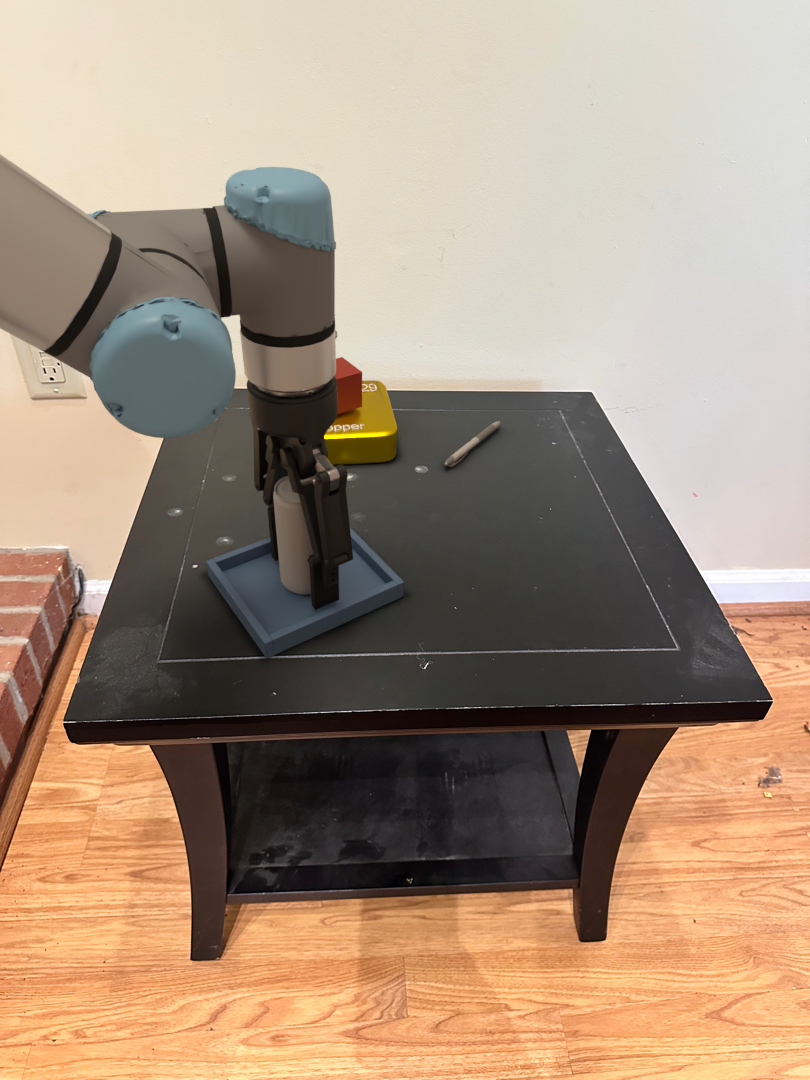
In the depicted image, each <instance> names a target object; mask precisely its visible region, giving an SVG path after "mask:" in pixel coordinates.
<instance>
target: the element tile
mask: <svg viewBox="0 0 810 1080" xmlns="http://www.w3.org/2000/svg"><path fill="white" fill-rule="evenodd" d="M388 392H389V391H388V389H387V386H386V384H384V383H383V382H382V381H380V380H362V407H360V408H356V409H353V410H350V411H346V412H343V413H340V414H337V418H336V420H335V421H334V423H333V424H332V425H331V426H330V427H329V429H328V430H327V432H326V433H325V435H324V438H325V443H326V447H327V450H328V458H327V459H328V460H329V461H330V463H331V464H332V465H333V466H339V465H358V464H360V465H361V464H377V463H386V462H390V461H392V460H393V459H394V458H395V457H396V455H397V451H398V449H397V446H398V425H397V421H396V418H395V413H394V410H393V407H392V404H391V400H390V396H389V393H388Z"/></svg>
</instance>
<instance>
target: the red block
mask: <svg viewBox="0 0 810 1080" xmlns="http://www.w3.org/2000/svg"><path fill="white" fill-rule="evenodd" d="M335 378H336V380H337V404H338V413H337V414H340V413H343V412H346V411H350V410H353V409H356V408H360V407H362V381H363V371H362V370H360V369H359V368H357V366H355V365H353V364H352V363H351V362H350V361H348V360H347V359H346V358H344V357H343V356H340V357H336V374H335Z"/></svg>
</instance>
